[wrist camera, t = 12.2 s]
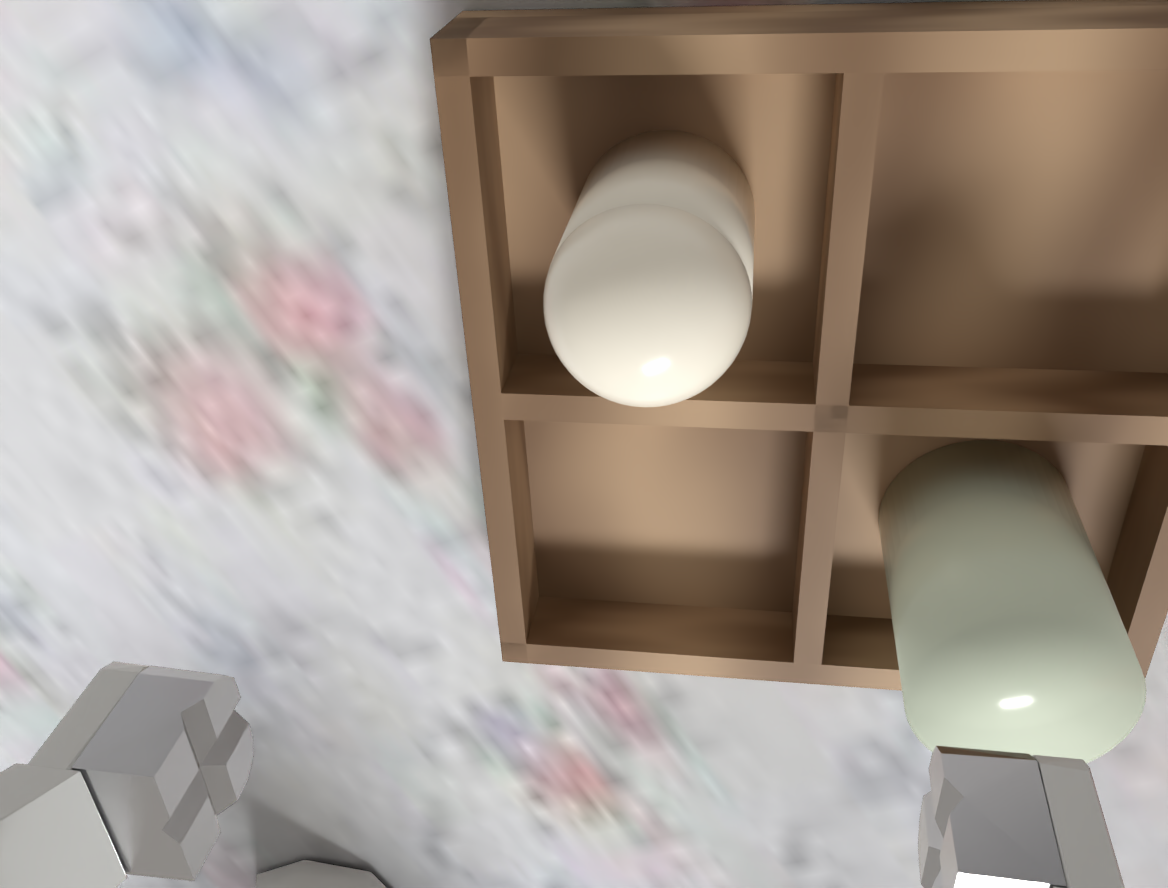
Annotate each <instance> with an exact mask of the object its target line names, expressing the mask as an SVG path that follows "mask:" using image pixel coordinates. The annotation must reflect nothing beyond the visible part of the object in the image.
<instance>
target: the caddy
mask: <svg viewBox="0 0 1168 888" xmlns="http://www.w3.org/2000/svg"><path fill="white" fill-rule="evenodd" d="M430 45H431V53H432V62H433V71H434V79H435V88H436V96H437V105H438V113H439V122H440V130H441V139H442V147H443V156H444V164H445V173H446V182H447V190H448V199H449V207H450V216H451V224H452V233H453V241H454V250H455V258H456V267H457V275H458V284H459V293H460V301H461V310H462V318H463V327H464V335H465V344H466V352H467V361H468V369H469V378H470V386H471V395H472V404H473V412H474V421H475V429H476V438H477V446H478V455H479V463H480V472H481V480H482V489H483V497H484V506H485V515H486V523H487V532H488V540H489V549H490V557H491V566H492V574H493V583H494V591H495V600H496V608H497V617H498V626H499V634H500V643H501V651H502V660H503V661H505V662H519V663H533V664H546V665H560V666H574V667H587V668H601V669H615V670H629V671H642V672H656V673H670V674H683V675H697V676H711V677H724V678H738V679H752V680H766V681H779V682H793V683H807V684H820V685H834V686H848V687H861V688H875V689H889V690H902V686H901V679H900V672H899V665H898V658H897V651H896V644H895V637H894V630H893V623H892V616H891V609H890V602H889V595H888V588H887V581H886V574H885V567H884V560H883V553H882V546H881V539H880V532H879V522H878V518H879V509H880V505H881V501H882V499H883V496H884V494H885V492H886V490H887V489H888V487H889V485H890V484H891V482H892V481H893V480H894V479H895V477H896V476H897V475H898V474H899V473H900V472H901V471H902V470H903V469H904V468H905V467H906V466H908V465H909V464H910V463H912V462H913V461H915V460H916V459H918V458H919V457H921V456H923V455H925V454H926V453H928V452H931V451H933V450H935V449H938V448H940V447H944V446H947V445H950V444H954V443H959V442H964V441H974V440H993V441H1002V442H1007V443H1011V444H1016V445H1019V446H1021V447H1024V448H1027V449H1029V450H1031V451H1033V452H1035V453H1037V454H1039V455H1040V456H1042V457H1043V458H1045V459H1046V460H1048V461H1049V462H1050V463H1051V464H1052V465H1053V466H1054V467H1055V468H1056V469H1057V470H1058V472H1059V473H1060V474H1061V475H1062V477H1063V479H1064V480H1065V482H1066V484H1067V486H1068V489H1069V491H1070V494H1071V496H1072V499H1073V501H1074V504H1075V506H1076V508H1077V511H1078V513H1079V516H1080V518H1081V521H1082V523H1083V526H1084V528H1085V531H1086V533H1087V536H1088V538H1089V541H1090V543H1091V546H1092V548H1093V550H1094V553H1095V555H1096V558H1097V560H1098V563H1099V565H1100V568H1101V570H1102V573H1103V575H1104V578H1105V580H1106V583H1107V585H1108V588H1109V590H1110V593H1111V595H1112V597H1113V600H1114V602H1115V605H1116V607H1117V610H1118V612H1119V615H1120V617H1121V620H1122V622H1123V625H1124V627H1125V630H1126V632H1127V635H1128V637H1129V639H1130V642H1131V644H1132V647H1133V649H1134V652H1135V654H1136V657H1137V659H1138V662H1139V664H1140V667H1141V669H1142V672H1143V675H1144V678H1145V677H1146V674H1147V671H1148V668H1149V665H1150V662H1151V659H1152V656H1153V653H1154V651H1155V648H1156V645H1157V642H1158V639H1159V636H1160V633H1161V630H1162V627H1163V624H1164V621H1165V618H1166V615H1167V612H1168V0H1026V1H972V2H918V3H863V4H809V5H755V6H701V7H647V8H592V9H538V10H484V11H462V12H461V13H460V14H459V15H458V16H456V17H455V18H454V19H453V20H452V21H450V22H449V23H448V24H447V25H446V26H444V27H443V28H442V29H441V30H440V31H439V32H437V33H436V34H435V35H434V36H433V37H431V38H430ZM656 130H677V131H683V132H688V133H691V134H694V135H697V136H700V137H703V138H705V139H707V140H709V141H711V142H713V143H714V144H716V145H717V146H719V147H720V148H722V149H723V150H724V151H725V152H726V153H727V154H728V155H730V156H731V158H732V159H733V160H734V161H735V162H736V163H737V164H738V166H739V167H740V169H741V170H742V172H743V173H744V175H745V177H746V179H747V181H748V183H749V186H750V189H751V192H752V195H753V200H754V206H755V232H754V263H753V295H752V311H751V319H750V325H749V328H748V332H747V336H746V338H745V341H744V343H743V345H742V348H741V349H740V351H739V353H738V355H737V356H736V358H735V360H734V361H733V363H732V364H731V366H730V367H729V368H728V369H727V370H726V372H725V373H724V374H723V375H722V376H721V377H720V378H719V379H718V380H716V381H715V382H714V383H713V384H712V385H711V386H709V387H708V388H707V389H705V390H704V391H702V392H700V393H699V394H697V395H695V396H693V397H691V398H688V399H686V400H683V401H681V402H678V403H675V404H671V405H667V406H660V407H634V406H628V405H623V404H619V403H616V402H613V401H610V400H607V399H605V398H603V397H601V396H599V395H597V394H595V393H594V392H592V391H590V390H589V389H587V388H586V387H585V386H583V385H582V384H581V383H580V382H579V381H578V380H576V379H575V378H574V377H573V376H572V375H571V374H570V372H569V371H568V370H567V369H566V367H565V366H564V365H563V364H562V362H561V361H560V359H559V358H558V356H557V354H556V353H555V350H554V348H553V346H552V344H551V341H550V339H549V336H548V332H547V329H546V325H545V319H544V309H543V294H544V287H545V281H546V278H547V274H548V271H549V267H550V264H551V262H552V259H553V257H554V255H555V252H556V250H557V248H558V245H559V243H560V241H561V238H562V236H563V234H564V231H565V229H566V227H567V224H568V222H569V220H570V217H571V215H572V213H573V210H574V208H575V206H576V203H577V201H578V199H579V196H580V194H581V192H582V189H583V187H584V185H585V182H586V180H587V178H588V176H589V174H590V172H591V171H592V169H593V168H594V166H595V165H596V163H597V162H598V161H599V160H600V159H601V157H602V156H603V155H604V154H606V153H607V152H608V151H609V150H610V149H611V148H613V147H614V146H616V145H617V144H618V143H620V142H622V141H624V140H626V139H628V138H630V137H632V136H635V135H638V134H641V133H645V132H650V131H656Z"/></svg>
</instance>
